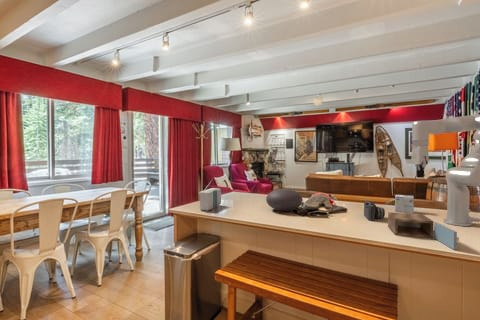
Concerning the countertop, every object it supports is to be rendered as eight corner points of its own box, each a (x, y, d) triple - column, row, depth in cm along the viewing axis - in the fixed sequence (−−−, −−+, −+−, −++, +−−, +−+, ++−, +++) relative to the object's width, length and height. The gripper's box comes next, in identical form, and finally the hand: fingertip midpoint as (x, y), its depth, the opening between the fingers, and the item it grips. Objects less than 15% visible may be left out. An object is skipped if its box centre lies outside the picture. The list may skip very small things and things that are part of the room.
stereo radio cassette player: (208, 211, 182) (208, 182, 181) (198, 210, 184) (197, 182, 184) (221, 205, 201) (221, 179, 200) (211, 204, 204) (211, 178, 203)
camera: (388, 222, 153) (388, 205, 152) (367, 221, 155) (367, 204, 155) (380, 216, 167) (380, 200, 166) (362, 215, 169) (362, 199, 169)
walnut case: (422, 229, 138) (422, 214, 138) (433, 238, 125) (433, 221, 125) (387, 227, 143) (388, 212, 143) (395, 235, 129) (395, 218, 129)
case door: (433, 237, 124) (434, 222, 124) (439, 237, 124) (439, 222, 123) (453, 249, 110) (454, 231, 109) (459, 249, 109) (460, 232, 109)
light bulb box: (413, 211, 178) (413, 195, 177) (413, 213, 172) (414, 197, 171) (395, 209, 183) (395, 194, 183) (394, 211, 178) (394, 195, 177)
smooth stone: (276, 205, 201) (276, 185, 200) (308, 209, 186) (308, 188, 186) (259, 211, 181) (259, 189, 180) (293, 216, 166) (293, 193, 166)
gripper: (407, 144, 152) (407, 176, 152) (418, 143, 137) (418, 179, 138) (421, 143, 150) (421, 176, 151) (435, 143, 135) (434, 179, 136)
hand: (420, 177), depth 144 cm, fingers closed
